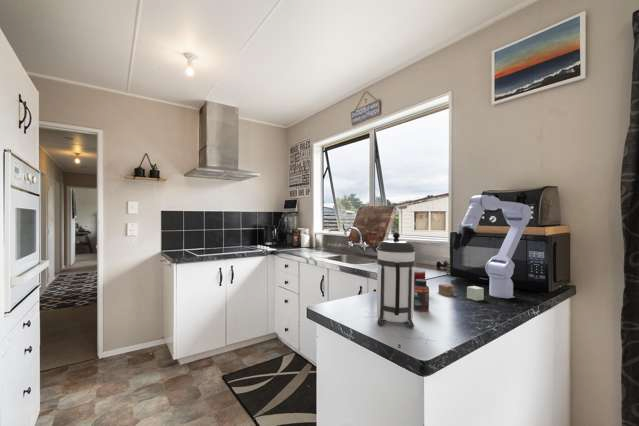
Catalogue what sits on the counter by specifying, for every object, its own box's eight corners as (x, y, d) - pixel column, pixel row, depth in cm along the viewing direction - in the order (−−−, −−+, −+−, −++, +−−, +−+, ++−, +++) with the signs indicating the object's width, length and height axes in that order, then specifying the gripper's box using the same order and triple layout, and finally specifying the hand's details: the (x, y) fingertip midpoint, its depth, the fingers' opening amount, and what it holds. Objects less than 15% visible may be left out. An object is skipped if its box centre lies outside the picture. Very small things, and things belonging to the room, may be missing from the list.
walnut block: (445, 292, 138) (446, 283, 138) (453, 294, 134) (454, 285, 134) (438, 293, 136) (438, 284, 136) (446, 295, 132) (446, 286, 132)
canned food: (422, 292, 141) (423, 268, 141) (426, 297, 133) (427, 272, 133) (405, 291, 141) (406, 268, 141) (409, 296, 133) (409, 271, 133)
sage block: (474, 297, 131) (474, 285, 132) (483, 300, 127) (483, 288, 127) (466, 298, 130) (467, 286, 130) (476, 301, 126) (476, 289, 126)
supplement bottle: (429, 308, 116) (430, 279, 116) (428, 313, 111) (428, 282, 111) (413, 306, 119) (414, 277, 119) (411, 310, 113) (411, 280, 113)
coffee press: (360, 318, 104) (362, 231, 104) (395, 311, 112) (397, 230, 112) (396, 336, 89) (398, 235, 89) (433, 327, 97) (435, 234, 97)
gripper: (455, 219, 135) (443, 245, 132) (470, 210, 121) (456, 239, 118) (470, 227, 134) (458, 253, 131) (486, 218, 120) (473, 248, 117)
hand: (458, 247), depth 124 cm, fingers open, 7 cm apart
